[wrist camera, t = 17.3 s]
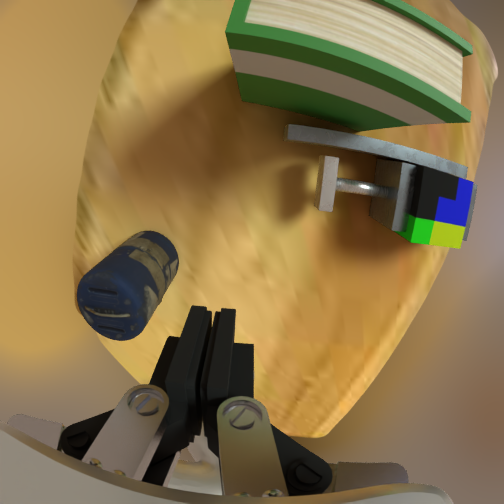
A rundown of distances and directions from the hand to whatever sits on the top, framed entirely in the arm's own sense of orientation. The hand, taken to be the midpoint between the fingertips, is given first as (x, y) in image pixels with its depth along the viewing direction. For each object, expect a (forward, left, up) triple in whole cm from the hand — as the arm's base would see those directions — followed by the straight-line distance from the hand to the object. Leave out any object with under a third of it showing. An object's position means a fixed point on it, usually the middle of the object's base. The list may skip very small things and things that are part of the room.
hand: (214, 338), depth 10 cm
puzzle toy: (+4, -27, -31) cm, 42 cm away
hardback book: (+17, -8, -31) cm, 37 cm away
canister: (-10, +14, -31) cm, 36 cm away
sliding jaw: (+4, -16, -31) cm, 35 cm away
